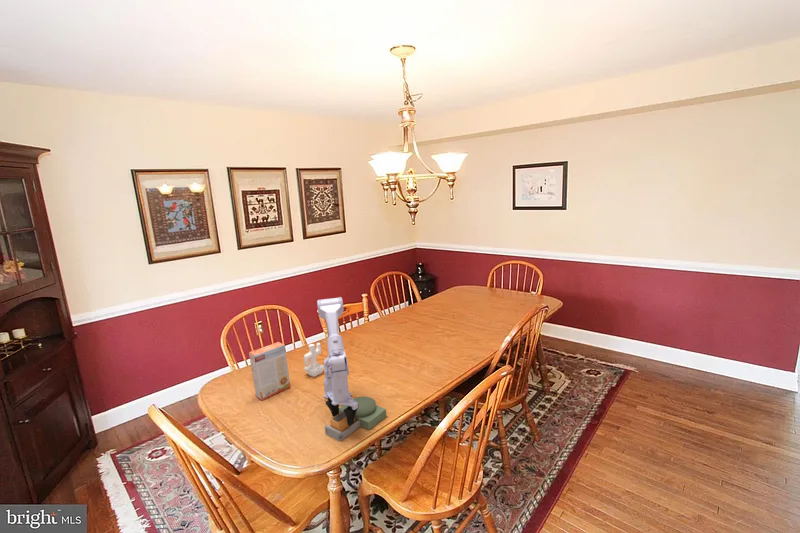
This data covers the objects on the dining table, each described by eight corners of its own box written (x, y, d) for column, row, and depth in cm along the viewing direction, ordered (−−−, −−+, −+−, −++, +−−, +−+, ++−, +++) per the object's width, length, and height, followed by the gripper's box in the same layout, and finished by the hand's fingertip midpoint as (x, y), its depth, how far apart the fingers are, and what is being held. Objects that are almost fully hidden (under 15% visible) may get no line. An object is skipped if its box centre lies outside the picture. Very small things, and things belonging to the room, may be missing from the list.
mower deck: (317, 429, 140) (316, 417, 139) (357, 403, 156) (356, 391, 155) (349, 445, 130) (347, 432, 129) (387, 415, 146) (386, 403, 145)
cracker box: (284, 383, 175) (278, 340, 171) (291, 387, 171) (285, 344, 167) (255, 396, 166) (248, 351, 161) (261, 401, 162) (254, 355, 157)
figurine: (302, 376, 182) (298, 346, 178) (317, 368, 189) (314, 339, 186) (311, 380, 177) (308, 350, 174) (327, 372, 184) (324, 342, 181)
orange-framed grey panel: (331, 431, 137) (330, 419, 136) (347, 420, 143) (346, 408, 142) (339, 435, 135) (338, 422, 134) (355, 424, 141) (354, 411, 140)
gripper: (317, 386, 137) (321, 419, 140) (346, 397, 128) (349, 433, 131) (332, 377, 143) (335, 410, 145) (360, 388, 134) (363, 423, 137)
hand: (343, 420), depth 139 cm, fingers open, 7 cm apart
